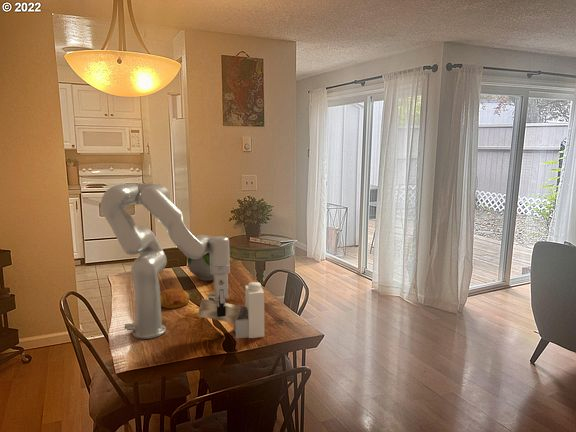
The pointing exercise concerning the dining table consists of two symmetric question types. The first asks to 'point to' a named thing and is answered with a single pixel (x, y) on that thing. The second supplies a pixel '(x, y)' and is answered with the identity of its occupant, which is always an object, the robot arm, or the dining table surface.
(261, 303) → the post
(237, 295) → the dining table surface
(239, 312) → the rail
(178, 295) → the croissant
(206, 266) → the flower arrangement
